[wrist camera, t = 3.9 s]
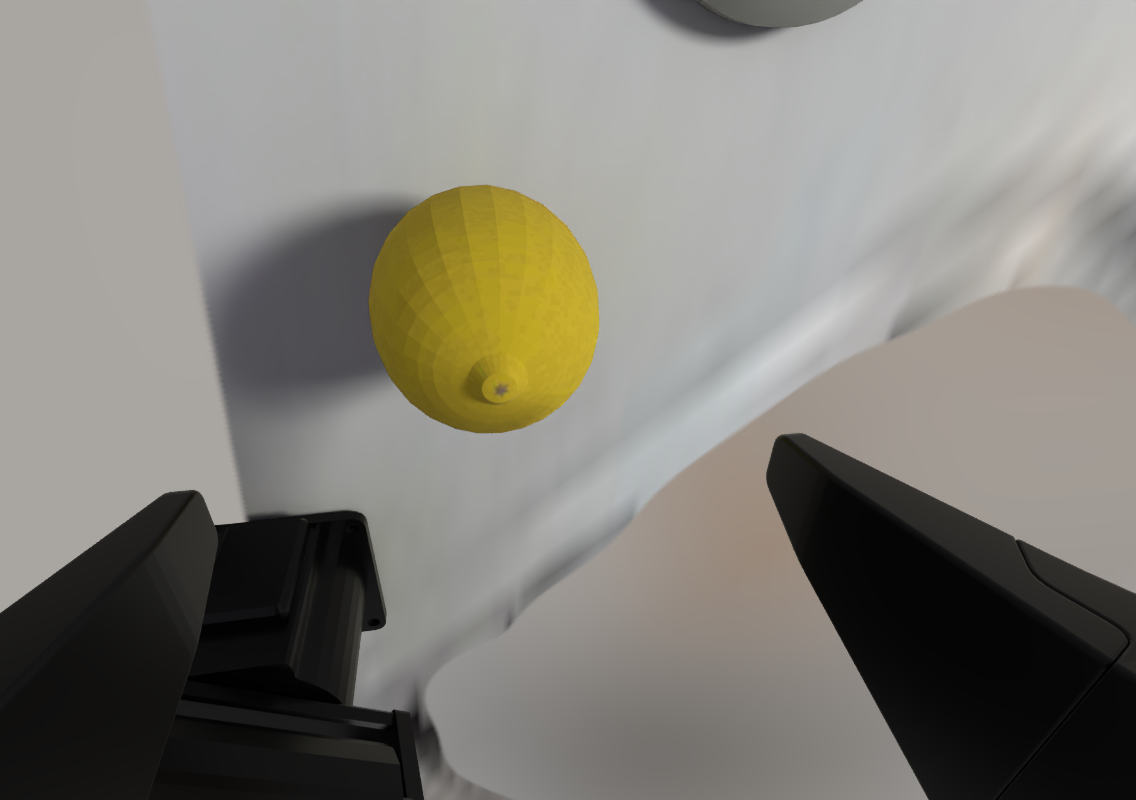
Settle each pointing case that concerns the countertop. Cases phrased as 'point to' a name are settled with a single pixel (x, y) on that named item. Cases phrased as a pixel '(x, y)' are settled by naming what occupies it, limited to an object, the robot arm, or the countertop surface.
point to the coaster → (778, 11)
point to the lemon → (484, 309)
